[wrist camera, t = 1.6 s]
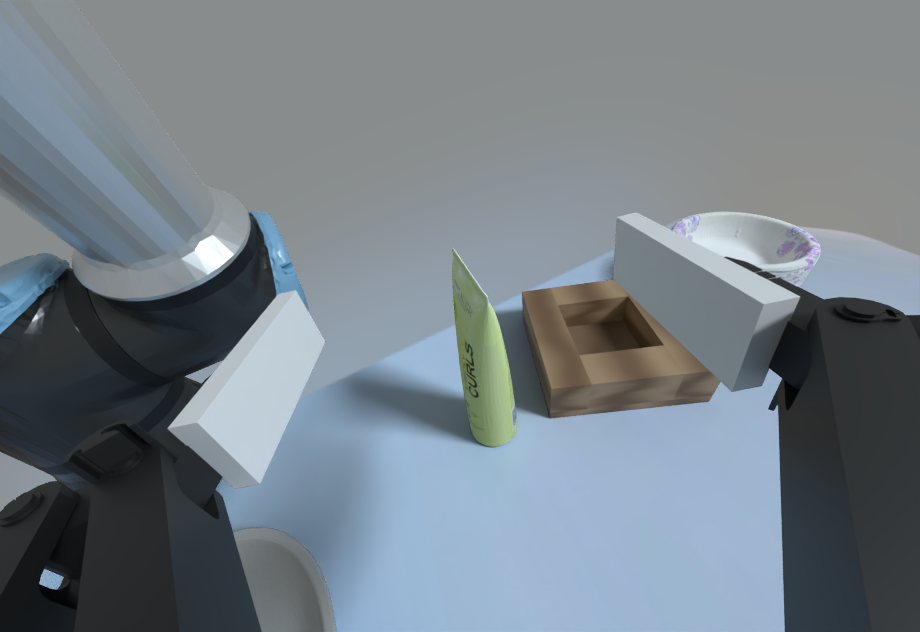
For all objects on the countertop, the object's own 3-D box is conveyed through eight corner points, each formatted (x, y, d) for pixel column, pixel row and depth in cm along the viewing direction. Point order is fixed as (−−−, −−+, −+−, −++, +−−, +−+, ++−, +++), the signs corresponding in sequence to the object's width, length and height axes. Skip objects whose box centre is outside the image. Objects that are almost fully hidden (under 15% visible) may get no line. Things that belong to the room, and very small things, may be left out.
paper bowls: (821, 318, 39) (863, 260, 34) (681, 324, 41) (702, 271, 36) (747, 254, 50) (771, 204, 45) (642, 262, 53) (653, 215, 48)
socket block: (550, 418, 34) (551, 388, 31) (522, 320, 46) (522, 291, 43) (708, 401, 33) (727, 369, 30) (637, 305, 45) (645, 275, 42)
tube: (456, 433, 34) (412, 280, 22) (479, 397, 37) (452, 244, 25) (505, 457, 31) (487, 297, 19) (525, 416, 35) (521, 255, 22)
